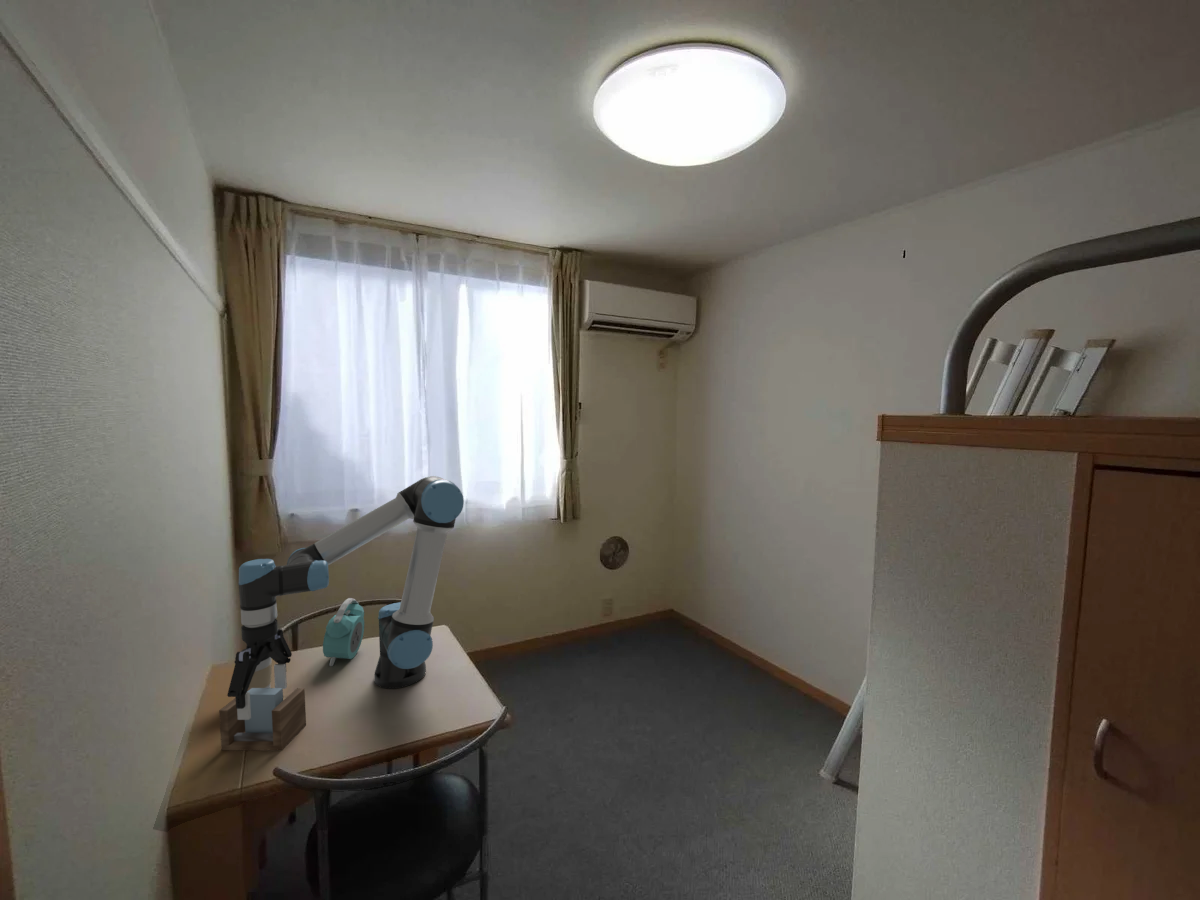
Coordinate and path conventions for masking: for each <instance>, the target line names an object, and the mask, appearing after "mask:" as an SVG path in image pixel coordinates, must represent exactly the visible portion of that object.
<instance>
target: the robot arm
mask: <svg viewBox="0 0 1200 900" xmlns="http://www.w3.org/2000/svg"><path fill="white" fill-rule="evenodd" d="M464 502H465V499H464V495H463V492H462V490H461V489H460V488H459V487H458V486H457V485H456V484H455V483H454V482H453V481H451V480H447V479H444V478H442V477H439V476H437V475H435V476H434V475H431V476H426V477H423V478H420V479H419V480H417V481H415V482H414V483H412V484H410V485H409V486H407V487H406V488H403V490H400V491H398V492H397V495H396V497H395V498H393V499H390V500H389V501H387V502H385V503H384V504H382V505H380V506H379V507H376V508H375V509H373V510H371V511H370V512H368V513H366V514H364V515H362V516H361V517H359V518H357V519H355V520H354V521H352V522H349V523H348V524H346V525H344V526H342V527H341V528H339V529H337V530H336V531H334V532H332V533H331V534H329V535H326V536H324V537H323V538H321V539H319V540H317V541H316V542H314V543H312V544H310V545H309V546H307V547H301V548H299V549H295V550H294V551H293V552H292V553H291V554H290V556H289V557H288V559H287V563H286V564H284V565H276V564H275V561H274V559H271V558H257V559H253V560H249V561H245V562H244V563H242V564H241V565H240V566H239V568H238V582H237V583H238V591H239V593H238V594H239V595H238V596H239V605H240V606H239V607H240V623H241V628H240V630H241V640H242V641H243V642H244V643H245V644H246V647H245V649H246V650H245V651H243V652H241V651H237V652H236V654H235V658H236V663H234V668H233V671H232V674H231V678H230V683H229V687H228V689H227V690H228V691H227V695H226V696H227V697H228V698H234V699H235V698H236V708H237V716H238V720H249V719H250V718H251V708H250V692H247V690H248V688H249V685H250V683H251V680H252V677H253V675H254V672H255V670H256V667H257V665H259V664H260V662H261V660H262V659H263V658H264V657H265V656H268V655H269V656H270V657H271V658H272V659H271V660H272V661H274V662H275V664H274V665H273V674H274V675H273V676H274V688H283V690H284V689H287V688H288V686H287V685H288V682H287V664H289V663H290V662H291V657H292V656H293V655H292V654H293V653H292V651H291V649H290V647H289V645H288V643H287V641H286V639H285V637H284V630H283V629H282V628H279V629H278V627H279V626H278V625H279V624H278V619H277V617H278V608H277V607H278V604H277V597H279V596H287V595H294V594H299V593H307V592H315V591H318V590H322V589H325V588H328V586H330V585H329V584H330V573H329V565H331V564H333V563H335V562H337V561H339V559H340V560H341V558H343V557H345V556H347V555H349V554H350V553H352V552H354V551H355V550H357V549H360V547H362V546H364V545H366V544H368V543H369V542H371V541H372V540H375V539H376V538H378V537H380V536H381V535H383V534H385V533H386V532H388V531H390V530H391V529H393V528H395V527H397V526H398V525H400V524H402V523H403V522H406V521H407V520H413V521H412V522H413V524H414V525H415V527H416V533H415V537H414V542H413V547H412V550H411V555H410V560H409V564H408V570H407V574H406V578H405V582H404V586H403V592H402V597H401V601H399V602H394V603H390V604H387V605H384V606H382V607H381V608H380V609H379V611H378V617H377V620H378V633H379V634H378V637H379V638H378V639H379V640H378V641H379V658H378V660H377V664H376V667H375V670H374V676H373V677H374V684H375V685H376V686H378V687H380V688H383V689H400V688H405V687H408V686H411V685H413V684H416V683H417V682H419V681H420V680H422V679H423V678H424V677H425V675H426V674H425V672H426V673H427V665H426V661H427V660H428V659H429V657H430V656H431V653H432V652H433V646H434V645H433V638H432V636H431V635H432V630H433V627H434V626H433V625H434V620H435V618H434V616H433V614H432V613H431V608H432V604H433V602H434V601H433V600H434V595H435V591H436V587H437V581H438V576H439V572H440V568H441V563H442V560H443V559H442V558H443V554H444V549H445V544H446V541H447V540H446V539H447V536H448V533H449V532H450V531H451V530H453V529H454V528H455V524H456V520H457V518H458V517H459V516H460V515H461V513H462V511H463V508H464V505H465V503H464ZM250 658H251V659H252V660H255V661H249V660H250ZM424 674H425V675H424ZM423 676H424V677H423ZM422 677H423V678H422ZM421 678H422V679H421ZM419 679H420V680H419ZM418 680H419V681H418ZM416 681H417V682H416ZM415 682H416V683H415ZM242 688H243V690H242Z"/></svg>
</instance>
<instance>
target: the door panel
mask: <svg viewBox="0 0 1200 900" xmlns="http://www.w3.org/2000/svg"><path fill="white" fill-rule="evenodd" d="M283 690H284V689H283V688H275V687H270V688H251V689H250V690H249V691H247V692H250V708H251V718H250V719H249V720H245V733H273V727H272V710H273V709H274V708H275V707H276V706H278V705H279V704H280V703H281V702H282V701H283V700H284V694H283V693H284V691H283Z"/></svg>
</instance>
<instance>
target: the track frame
mask: <svg viewBox="0 0 1200 900" xmlns="http://www.w3.org/2000/svg"><path fill="white" fill-rule="evenodd" d="M250 689H251V688H248V690H247V691H249V690H250ZM218 711H219V712H218V714H219V715H218V716H219V731H220V747H221V751H283V749H284V748H286V747H287V746H288V745H289V743H290V742H292V740H293V739H294V738H295V737H296V736H297V735H298V734H299V733H300V732H301V731H302V730H303V729H304V728H305V727H306V726H307V716H306V714H307V713H306V693H305V688H304V687H303V688H302V687H297V688H296V689H294V690H293V691H292V692H291V693H290V694H288V696H286V697H285V698H283V701H282V702H281V703H280V704H279V705H278V706H276V707H275V708H274V709H273V710H272V727H273V733H245V720H238V716H237V708H236V698H235V697H234V698H233V699H232V700H231V701H229V702H228V703H227V704H226V705H224V706H223V707H222V708H220V709H219V710H218Z"/></svg>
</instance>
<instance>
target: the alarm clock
mask: <svg viewBox="0 0 1200 900" xmlns="http://www.w3.org/2000/svg"><path fill="white" fill-rule="evenodd" d="M364 616H365V611H364V607H363V605H360V604H359V601H357V600H356V599H355V598H352V597H348V598H347V599H345V600H344V601H343V602H342V604H341V605H340V607H339V608H338V610H337V612H336V614H335V615H333V616H332V617H331V618H330V619H329V620H328V622H327V623H326V626H325V633H324V636H323V642H322V653H323V656H324V657H326V658H330V661H329V667H332V666H335V663H336V661H337V659H348V660H353V659H354V657H355V656H357V653H358V652H359V649H360V647H361V646H362V645H361V644H362V641H363V637H364V633H365V631H364V630H365V619H364Z"/></svg>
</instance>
